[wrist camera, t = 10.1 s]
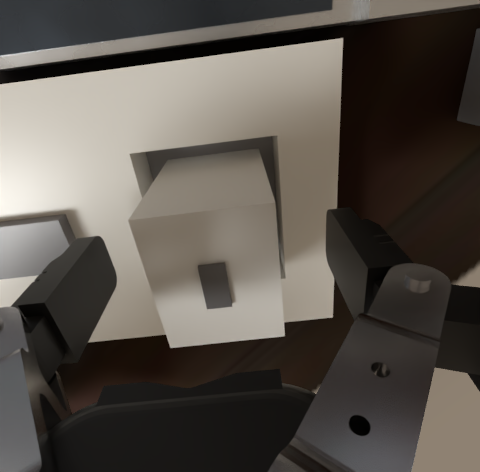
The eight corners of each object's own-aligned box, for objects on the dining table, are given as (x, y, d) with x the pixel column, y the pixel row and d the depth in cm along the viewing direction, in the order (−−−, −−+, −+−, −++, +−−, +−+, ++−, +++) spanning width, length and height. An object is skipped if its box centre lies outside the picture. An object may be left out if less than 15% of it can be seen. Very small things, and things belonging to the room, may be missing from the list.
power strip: (-174, 109, 13) (-299, 124, 10) (319, 42, 13) (349, 36, 9) (-26, 317, 19) (-76, 368, 16) (318, 281, 18) (336, 326, 15)
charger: (167, 159, 14) (126, 222, 8) (258, 148, 14) (275, 204, 8) (190, 255, 16) (169, 351, 11) (267, 246, 16) (285, 339, 11)
